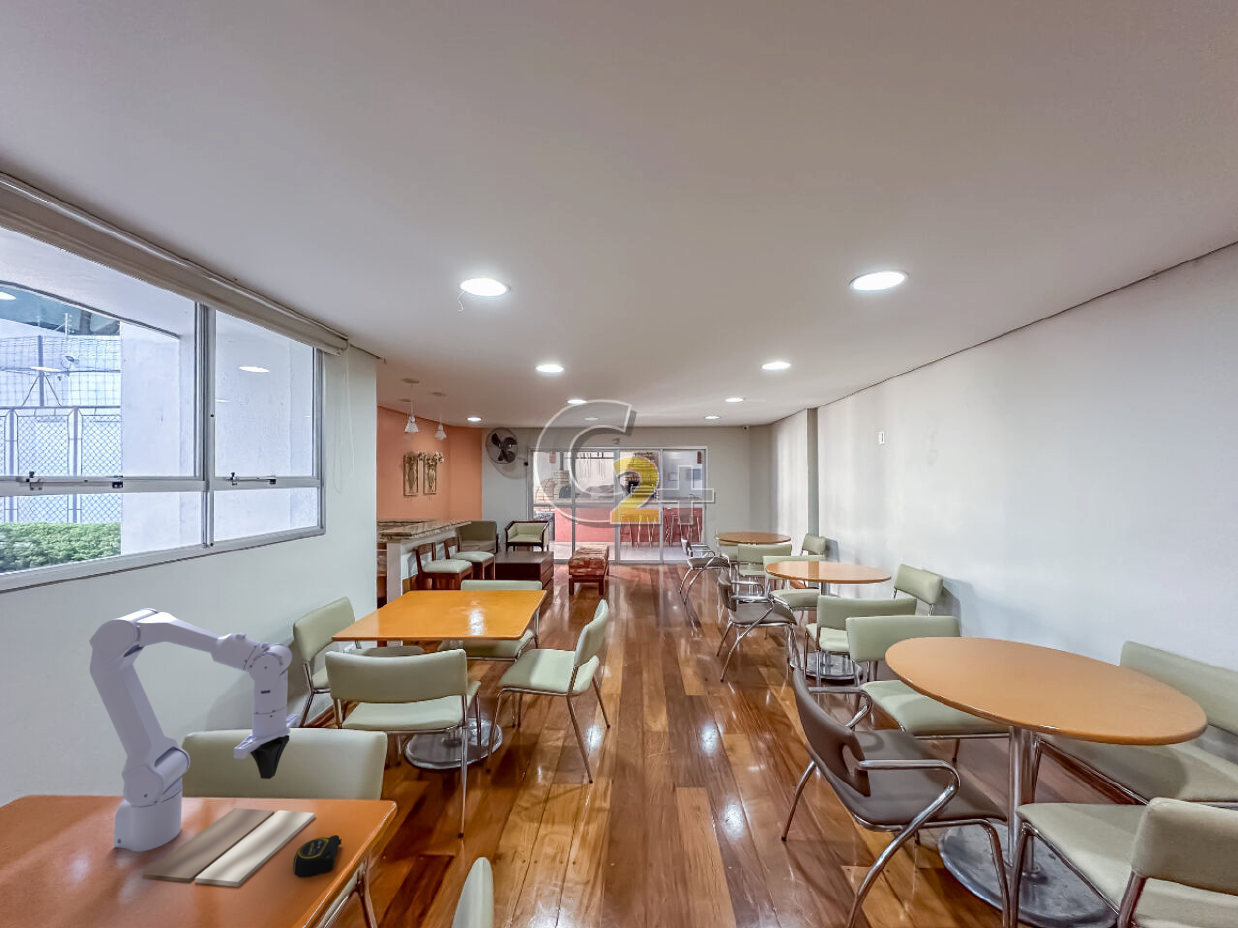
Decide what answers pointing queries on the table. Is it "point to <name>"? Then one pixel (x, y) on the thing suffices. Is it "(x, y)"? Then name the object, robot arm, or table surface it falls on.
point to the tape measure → (316, 856)
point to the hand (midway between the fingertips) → (267, 776)
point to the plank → (255, 849)
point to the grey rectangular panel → (208, 845)
